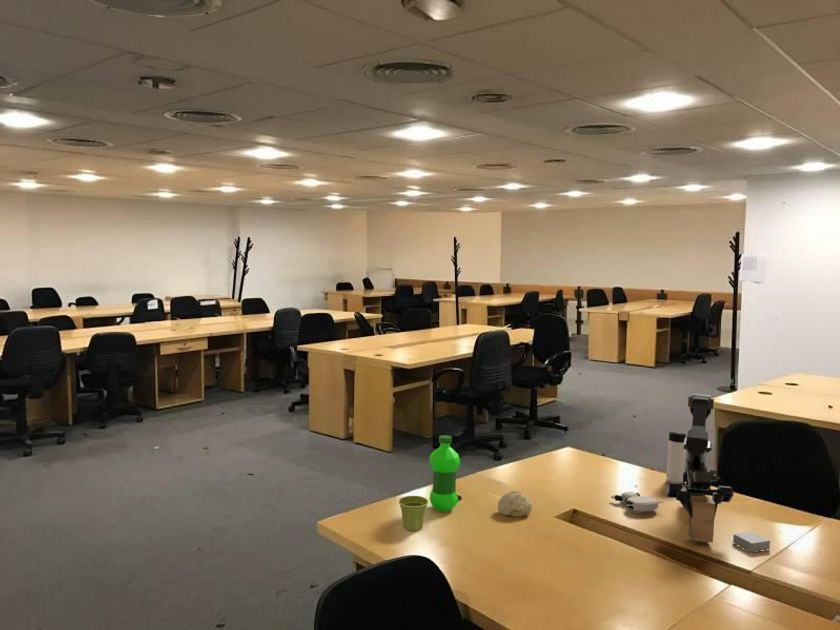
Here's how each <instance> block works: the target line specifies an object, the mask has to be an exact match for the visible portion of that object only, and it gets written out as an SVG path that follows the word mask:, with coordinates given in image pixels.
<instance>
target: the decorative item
mask: <svg viewBox="0 0 840 630" xmlns="http://www.w3.org/2000/svg"><path fill="white" fill-rule="evenodd" d="M532 509H533V502H532V500H531V499H530V498H528V497H526V496H525V495H524V494H523V493H522V492H521V491H519V490H512V491H510V492H507V493H505V494H504V495H503V496H502V497H501V498H500V499H499V500H498V502H497V511H498V513H499V514H500V515H504V516H512V517H516V516H518V517H524V516H528V515H529V514H530V513H531V511H532Z"/></svg>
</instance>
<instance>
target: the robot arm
mask: <svg viewBox="0 0 840 630" xmlns="http://www.w3.org/2000/svg"><path fill="white" fill-rule="evenodd" d="M687 398H688V399H687V407H688V408H689V411H690V414H691V416H692V423H691V428H690V429H688V431H687V434H686V438H685V441H684V449H685V464H686V466H685V470H684V472H683V484H682V483H678V482H670V483H668V484H667V487H666V489H665V491H666V492H665V493H666V497H667V498H671V499H672V498H673V499H675V500H676V501H679V502H680V504H681V505H682V506H683V508H684V510H685V511H686V513H687V515H688V517H689V516H690V518H692V509H691V505H690V495H695V496H707V497H711V498H712V500H713V501H714V503H715V515H716V514H717V509H718V505H720V504H722V503H730V502H731V500H732V498H733V496H734V490H733V489H734V488H732V486H727V485H718V486H717V488H716V489H712V488H711V487H712V483H713V482H717V481H718V480H719V473H718V470H717V469H710V470H709V471H708V468H707V465H706V457H707V454H708V453H710V452H712V449H713V448H712V447H713V445H712V443H711V440H708V438H709V433H708V432H707V430H706V426H707V420H708V418H709V417H710V416H711V415H712V414H711V413H712V410H714V408H715V407H714V406H715V404H714V403H715V399H714V398H711V395H709V394H708V395H707V394H697V393H692V396H688V397H687ZM715 518H716V516H715V517H714V520H715Z"/></svg>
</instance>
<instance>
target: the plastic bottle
mask: <svg viewBox="0 0 840 630" xmlns="http://www.w3.org/2000/svg"><path fill="white" fill-rule="evenodd" d="M452 439H453V437H452V435H449V434H448V435H447V434H444V435H443V434H442V435H439V436H438V442H439V443H440V445H439V447H438V448H436V449H435V450H434V451H433V452H431V453H430V454H429V455H430V456H429V466H430V468H431V469H432V489H431V491H430V493H429V501H430V504H431V506H432V507H433V508H434V509H435V510H436V511H439V512H442V513H445V512H449V511H452V509H454V508H455V507H456V506H457V504H458V502H459V497H458V494H457V491H456V489H457V488H456V486H457V485H456V484H457V480H456V479H457V471H458V470H459V469H460V466H461V459H460V456H459V453H457V452H456V450H454V449H453V447H451V443H452Z"/></svg>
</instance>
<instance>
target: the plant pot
mask: <svg viewBox="0 0 840 630" xmlns="http://www.w3.org/2000/svg"><path fill="white" fill-rule="evenodd" d="M398 504H399V507H400V510H401V518H402V526H403V528H404V529H405V530H406V531H410V532H416V531H417V530H419V531H421V530H422V529H423V527H424V520H425V516H426V515H425V514H426V509H427V506H428V504H429V499H428V498H427V497H424V496H419V495H406V496H403V497H400V498H399V499H398Z"/></svg>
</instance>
